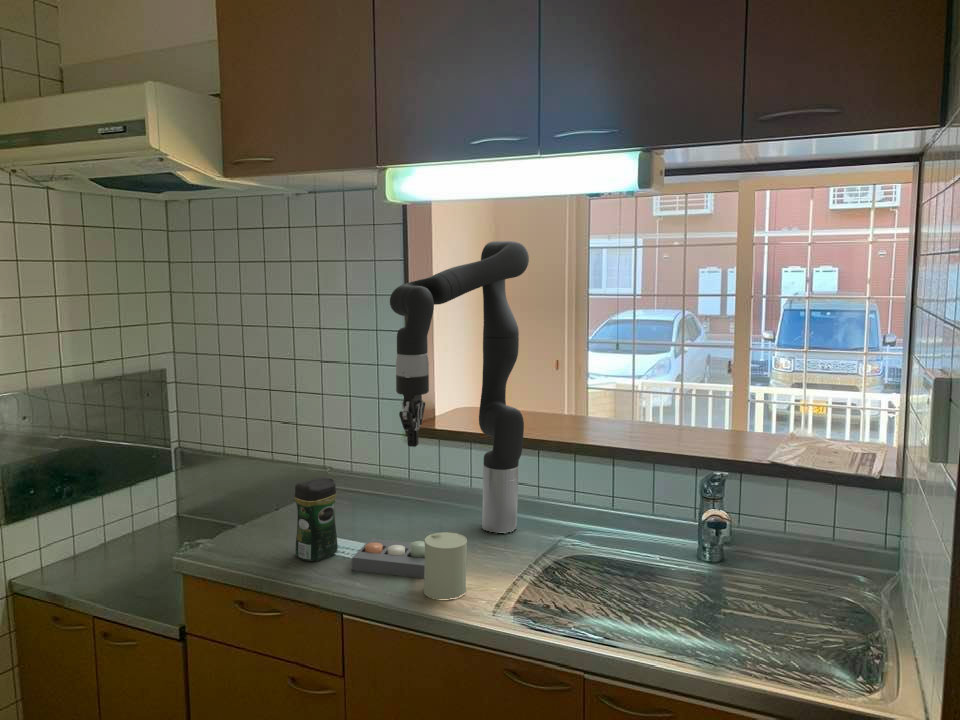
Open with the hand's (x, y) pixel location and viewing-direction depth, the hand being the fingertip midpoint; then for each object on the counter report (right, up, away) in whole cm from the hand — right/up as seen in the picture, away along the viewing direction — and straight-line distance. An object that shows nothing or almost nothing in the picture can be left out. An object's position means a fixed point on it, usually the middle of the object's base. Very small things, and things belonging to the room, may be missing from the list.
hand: (413, 445), depth 173 cm
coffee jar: (-23, -27, +4) cm, 36 cm away
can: (+8, -30, -14) cm, 34 cm away
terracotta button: (-9, -26, +1) cm, 28 cm away
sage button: (+2, -25, -2) cm, 26 cm away
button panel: (-4, -27, 0) cm, 28 cm away
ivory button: (-4, -27, 0) cm, 27 cm away
